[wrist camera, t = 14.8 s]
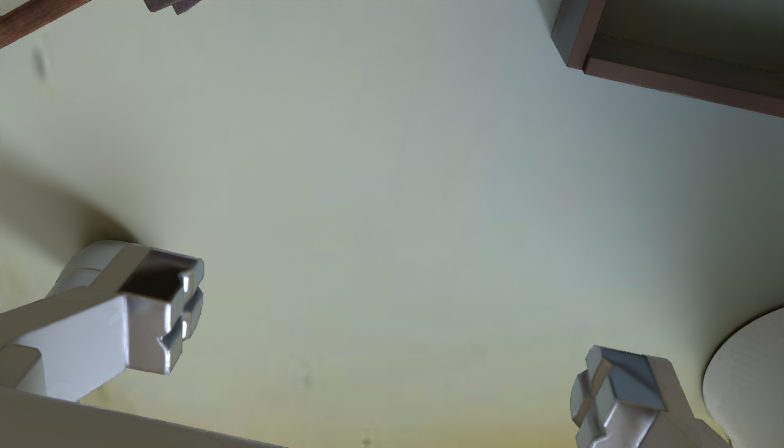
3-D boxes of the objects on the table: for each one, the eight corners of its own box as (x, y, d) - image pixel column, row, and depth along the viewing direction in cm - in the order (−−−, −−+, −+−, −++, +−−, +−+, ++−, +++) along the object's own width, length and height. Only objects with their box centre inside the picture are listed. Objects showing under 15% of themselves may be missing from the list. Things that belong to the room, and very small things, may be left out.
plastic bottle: (75, 280, 48) (-139, 515, 31) (95, 213, 45) (-133, 433, 27) (155, 314, 49) (-9, 560, 32) (180, 251, 46) (12, 486, 28)
